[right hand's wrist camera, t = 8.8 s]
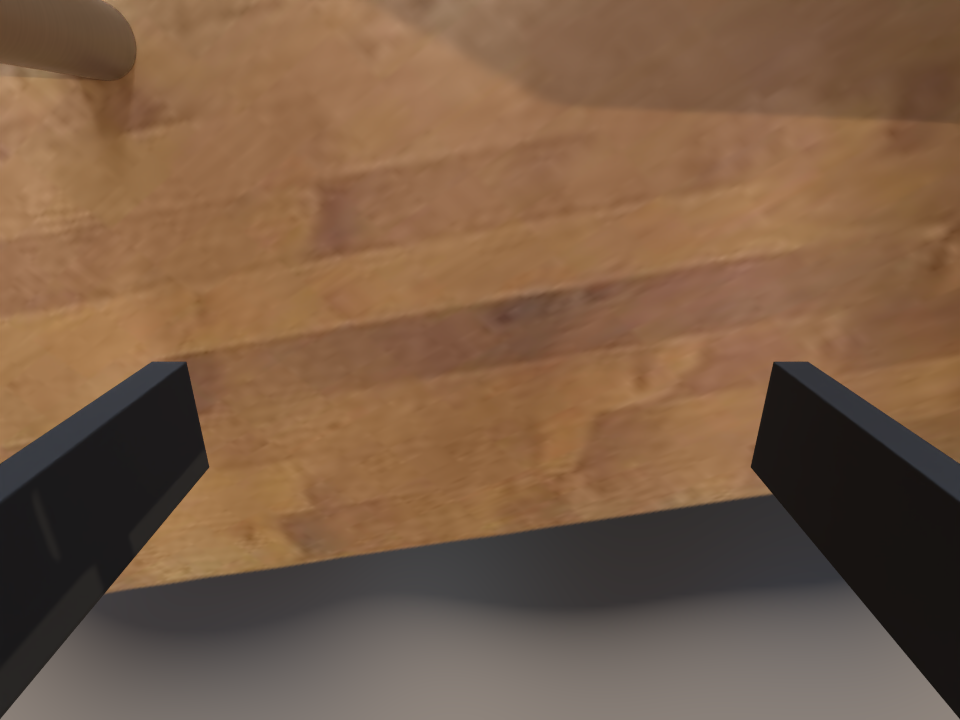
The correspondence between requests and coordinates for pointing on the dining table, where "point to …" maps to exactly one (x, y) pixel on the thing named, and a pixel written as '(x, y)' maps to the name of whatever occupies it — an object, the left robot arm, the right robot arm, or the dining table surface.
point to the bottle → (67, 37)
